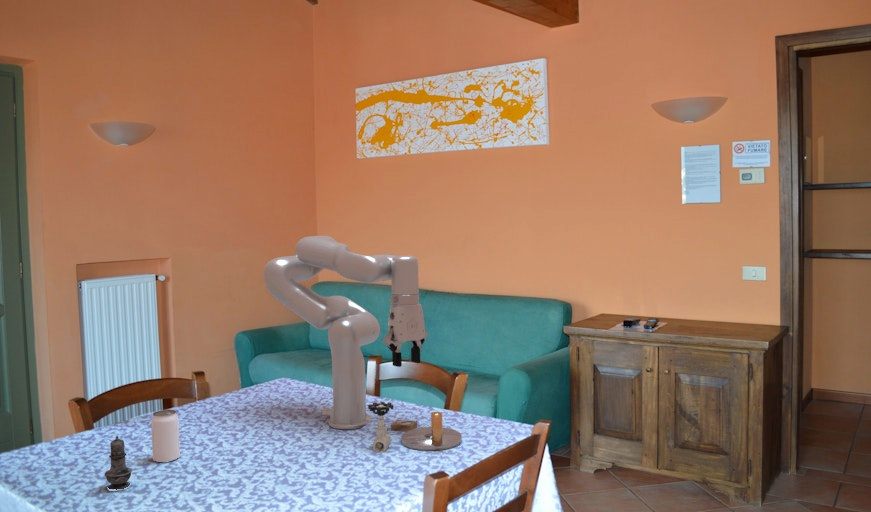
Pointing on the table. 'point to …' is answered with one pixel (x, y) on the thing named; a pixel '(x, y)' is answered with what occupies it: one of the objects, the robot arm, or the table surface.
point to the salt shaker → (118, 466)
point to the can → (165, 436)
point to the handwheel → (431, 436)
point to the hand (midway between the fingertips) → (406, 363)
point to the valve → (381, 426)
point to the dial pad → (403, 425)
